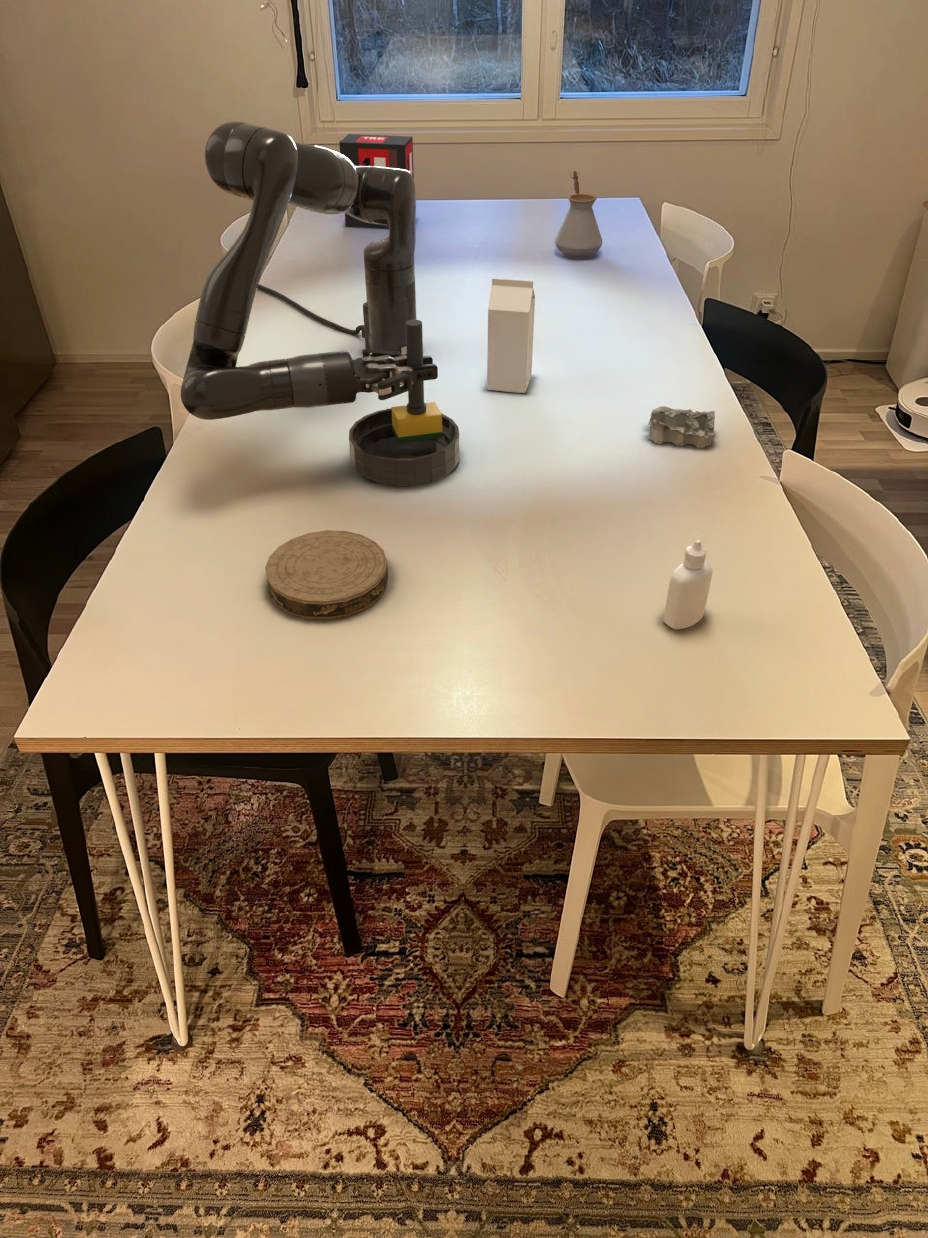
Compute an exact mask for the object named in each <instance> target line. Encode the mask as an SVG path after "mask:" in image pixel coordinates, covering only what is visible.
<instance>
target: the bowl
mask: <svg viewBox="0 0 928 1238" xmlns="http://www.w3.org/2000/svg"><path fill="white" fill-rule="evenodd" d="M441 414H442V438H436V439H429V440H421V441H413V442H406V443H398V441H397V439H396V436H395V434H394V432H393V429H392V407H391V408H386V409H381V410H377V411H373V412H372V413H369V414H366V415H364V416H363V417H361V418H360V419H358V420H356V421H355V422H354V423H353V424H352V426H351V427H350V428H349V430H348V431H349V432H348V443H349V456H350V464H351V465H352V467H353V469H354V471H355V472H356V473H358V474H359V475H360V476H362V477H364V478H365V479H367V480H371V481H373V482H376V483H379V484H381V485H386V486H387V485H389V486H400V487H408V486H417V485H423V484H427V483H431V482H434V481H436V480H439V479H442V478H443V477H445V476H447V475H448V474H450V473H451V472H452V471H453V470H454V469H455V468H456V467H457V465H458V463H459V461H460V430H459V426H458V425H457V423H456V422H455V421H454V419H452V418H451V417H449V416H447V414H444V413H442V412H441Z"/></svg>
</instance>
